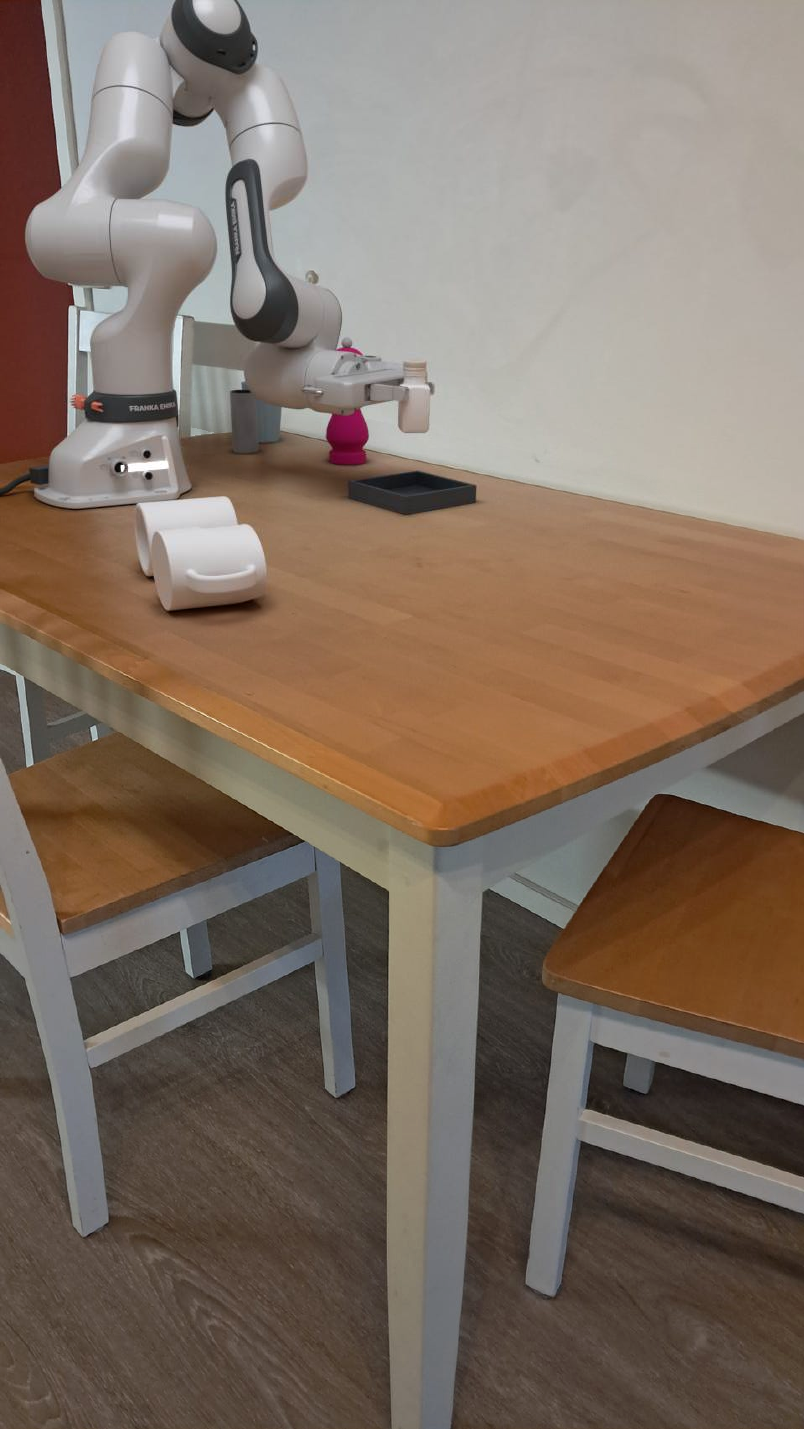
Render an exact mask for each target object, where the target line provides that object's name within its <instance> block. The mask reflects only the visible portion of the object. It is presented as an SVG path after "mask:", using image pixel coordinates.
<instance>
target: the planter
mask: <svg viewBox="0 0 804 1429" xmlns="http://www.w3.org/2000/svg"><path fill="white" fill-rule="evenodd" d="M229 404H230V421H231V425H230V426H231V440H232V441H231V443H232V445H231V446H232V452H233V453H236V454H245V455H246V454H256V453H258V452H259V446H260V445H259V442H258V421H257V398H256V397H255V396H254V395H253V394H252V393H251V391H250V390H242V389H233V390H230V391H229Z"/></svg>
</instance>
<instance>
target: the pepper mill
mask: <svg viewBox="0 0 804 1429" xmlns="http://www.w3.org/2000/svg"><path fill="white" fill-rule="evenodd" d="M341 346H342V347H339V348H336V351H344V352H352V353H355V354H359V355H361V356H364V355H363V353H362V352H361V351H360V350H358V349H357V348H355V347H352V346H353V340H352V338H351V337H348V336H345V337H343V338H342V340H341ZM361 409H362V408H360V409H358V410H356V411H355V412H354V413H353V414H351V415H337V414H331V416H330V418H329V421H328V423H327V427H326V430H325V431H326V432H325V439H326V441H327V443H328V444H329V446H331V449H330V450H329V451H328V461H329V463H331V464H334V465H339V466H357V465H362V464H365V463H366V462H367V452H366V450H365V449H364V447H365V445H366V444H367V443H368V441H369V438H370V434H369V432H370V431H369V427H368V423H367V421H366V419H365V417H364V414H363V412H362V410H361Z"/></svg>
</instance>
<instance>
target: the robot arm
mask: <svg viewBox="0 0 804 1429" xmlns="http://www.w3.org/2000/svg"><path fill="white" fill-rule="evenodd" d="M258 52H259V44H258V40H257V38H256V36H255V35H254V34H253V32H252V30H251V26H250V22H249V19H248V17H247V14H246V12H245V10H244V9H243V6H241V3H240V2H239V1H238V0H174V2H173V4H172V8H171V11H170V13H169V15H168V17H167V19H166V21H165V23H164V25H163V27H162V29H161V31H160V33H159V35H158V37H155V38H153V37H151V36H149V35H147V34H145V33H143V32H140V31H134V30H125V31H121V32H118V33H115V34H114V35H113V36H111V37H110V38H109V39H108V40H107V41H106V43H105V45H104V46H103V49H102V52H101V54H100V57H99V59H98V60H99V61H98V64H97V67H96V72H95V77H94V81H93V87H92V94H91V101H90V113H89V123H88V130H87V137H86V143H85V149H84V152H83V155H82V157H81V159H80V162H79V164H78V166H77V168H76V169H75V171H74V172H73V174H72V175H71V176H70V178H69V179H68V180H67V181H66V183H65V184H64V185H63V186H62V187H61V188H60V189H59V190H58V191H57V192H55V193H54V194H53V195H52V196H50V197H48V198H47V199H45V200H43V201H41V202H40V203H39V204H36V205H35V207H34V208H33V209H32V211H31V212H30V214H29V216H28V219H27V221H26V225H25V230H24V242H25V247H26V252H27V254H28V257H29V258H30V261H31V263H32V264H33V266H34V267H35V268H36V270H37V271H38V273H40V274H41V275H42V277H44V278H46V279H47V280H52V281H56V282H60V283H63V284H68V285H73V286H78V287H124V288H127V299H126V303H125V306H124V307H123V308H122V309H121V310H119V311H117V312H115V313H113V314H110V316H108V317H106V318H104V319H103V320H101V321H100V322H99V323H98V324H96V326H95V327H94V328H93V331H92V332H91V335H90V339H89V346H90V356H91V358H90V359H91V367H92V368H91V369H92V376H93V378H92V379H93V385H94V390H93V391H92V392H91V393H90V394H89V395H88V396H87V397H86V396H85V395H81V394H78V393H75V394H73V395H72V396H71V398H70V401H69V403H71V404H70V406H72V407H73V409H76V410H79V411H84V417H85V419H84V420H83V421H82V422H81V423H80V424H79V425H77V427H76V428H74V429H73V430H72V431H71V432H70V433H69V434H68V435H67V436H66V437H65V438H64V439H63V440H62V441H61V442H59V444H57V445H56V446H55V447H54V448H53V449H52V451H51V452H50V456H49V459H48V463H47V464H42V465H36V466H31V467H29V468H28V470H29V473H26V474H23V475H21V476H18V477H16V478H14V479H13V480H11V481H10V482H9V483H8V484H7V485H5V486H3V487H1V488H0V496H3V495H6V494H8V493H10V492H11V491H13V490H14V489H15V488H16V487H18V486H19V485H21V484H23V483H25V482H28V481H30V484H34V485H36V486H35V487H34V489H33V496H34V498H35V499H37V500H38V501H40V502H41V503H44V504H47V505H51V506H54V507H58V508H64V509H75V510H76V509H77V510H78V509H89V508H90V509H91V508H98V507H110V506H121V505H130V504H138V503H145V502H158V501H170V500H178V499H179V498H180V495H181V494H184V493H186V492H188V491H190V490H191V489H192V483H191V481H190V479H189V475H188V472H187V469H186V466H185V465H186V464H185V462H184V457H183V453H182V447H181V442H180V437H179V429H178V428H179V425H180V424H179V422H180V416H179V405H178V404H179V402H178V393H177V390H176V389H175V388H174V377H173V375H174V374H173V336H174V335H173V334H174V328H175V324H176V320H177V317H178V316H179V313H180V310H181V309H182V307H183V305H184V303H185V302H186V300H187V299H188V297H189V296H190V295H191V293H192V292H193V291H194V290H195V289H196V288H197V287H198V286H200V285H201V284H202V283H203V282H204V281H206V279H207V278H208V277H209V276H210V274H211V272H212V271H213V269H214V266H215V264H216V260H217V255H218V239H217V235H216V231H215V228H214V226H213V224H212V222H211V220H210V219H209V217H208V215H207V214H206V213H205V212H204V211H203V210H202V209H201V208H200V207H198V206H196V205H192V204H188V203H184V202H179V201H174V200H169V199H157V198H156V199H154V198H153V199H150V198H144V197H146V196H148V195H150V194H151V193H153V192H154V191H156V190H157V189H158V188H160V186H161V185H162V184H163V182H164V181H165V180H166V178H167V175H168V172H169V170H170V163H171V152H172V138H173V136H172V135H173V125H175V126H179V127H183V128H185V127H186V128H188V127H190V128H191V127H195V126H198V125H200V124H201V123H203V122H204V121H205V120H207V119H208V118H209V116H211V114H212V113H213V112H214V111H215V112H216V114H217V115H218V117H219V119H220V120H221V123H222V124H223V128H224V129H225V133H226V140H227V146H228V151H229V156H230V161H231V168H230V170H229V171H228V174H227V175H226V180H225V189H224V190H225V192H224V195H225V196H224V197H225V210H226V211H225V212H226V222H227V235H228V243H229V253H230V266H231V284H230V293H229V294H230V296H229V307H230V315H231V318H232V321H233V323H234V325H235V328H236V329H237V330H238V332H239V333H240V334H241V335H242V336H243V337H244V338H246V339H247V340H250V341H252V342H257V343H258V344H257V345H256V347H254V348H253V349H252V350H250V351H249V352H248V353H247V355H246V356H245V359H244V362H243V378H244V381H246V384H247V386H248V388H249V390H250V391H251V393H252V394H253V395H254V396H255V397H256V398H258V399H259V400H261V401H263V402H265V403H268V404H271V405H274V406H278V407H282V408H284V409H290V410H305V409H310V410H312V411H314V412H316V413H322V414H330V415H332V414H337V415H351V414H353V413H354V412H355V411H356V410H358V409H363V407H367V406H372V405H373V406H374V405H378V404H382V403H387V402H393V401H394V402H395V401H396V402H398V401H404V400H408V399H409V388H408V387H406V386H399V385H401V384H403V383H404V375H403V363H398V362H392V361H385V360H383V361H382V357H381V356H378V355H377V356H376V355H363V356H361V355H359V354H355V353H352V352H344V351H336V350H337V349H338V344H339V340H340V336H341V331H342V324H343V312H342V308H341V303H340V302H339V299H338V298H337V296H336V295H335V294H334V293H333V292H332V291H331V290H329V289H328V288H325V287H323V286H321V285H318V284H315V283H313V282H311V281H308V280H304V279H302V278H298V277H296V276H293V275H291V274H289V273H288V272H287V271H285V270H284V269H283V268H282V267H281V265H280V264H279V263H278V261H277V259H276V258H275V254H274V243H273V236H272V234H273V233H272V226H271V217H270V212H272V211H274V210H277V209H281V208H282V207H284V206H287V205H288V204H290V203H291V202H292V201H294V200H295V199H296V198H298V196H299V195H300V194H301V192H302V191H303V189H304V188H305V186H306V184H307V182H308V178H309V177H308V174H309V166H308V165H309V164H308V156H307V150H306V147H305V146H306V145H305V141H304V137H303V134H302V128H301V124H300V121H299V118H298V115H297V111H296V108H295V106H294V102H293V101H292V100H293V99H292V98H291V95H290V92H289V90H288V88H287V85H286V84H285V81H284V79H283V78H282V77H281V75H280V74H279V73H278V72H277V71H275V69H273V68H271V67H268V66H266V65H262V64H258V63H256V61H257V59H258ZM425 383H426V384H427V385H428V386H429V387H430V396H433V395H434V394H435V386H436V384H435V383H434V382H433V381H428V371H427V370H426V377H425Z"/></svg>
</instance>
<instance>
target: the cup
mask: <svg viewBox="0 0 804 1429" xmlns="http://www.w3.org/2000/svg"><path fill="white" fill-rule="evenodd" d="M240 384H241V390H249V388H248V386H247V384H246V381H245V380H244V381H241V383H240ZM282 410H283V407H278V406H274V405H271V404H268V403H265V402H263V401H261V400H259V399H258V398H257V421H258V443H263V444H264V443H266V444H267V443H268V444H269V443H277V442H279V441H280V436H281V435H280V434H281V423H282V422H281V421H282Z"/></svg>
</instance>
